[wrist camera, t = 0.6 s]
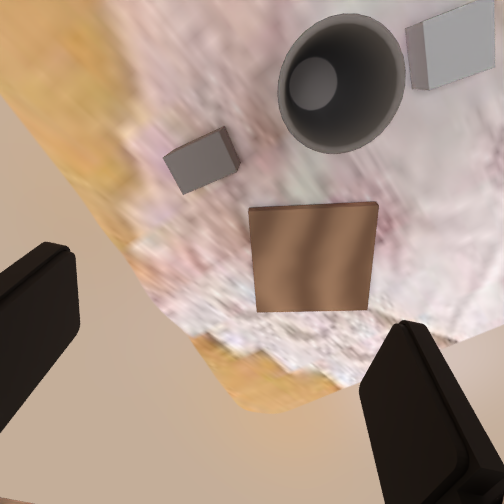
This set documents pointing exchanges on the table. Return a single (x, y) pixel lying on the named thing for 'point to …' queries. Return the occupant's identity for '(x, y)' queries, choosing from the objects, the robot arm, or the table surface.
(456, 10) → the slate block
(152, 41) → the table surface
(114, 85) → the table surface
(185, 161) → the taupe block
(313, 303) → the walnut board
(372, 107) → the cup
